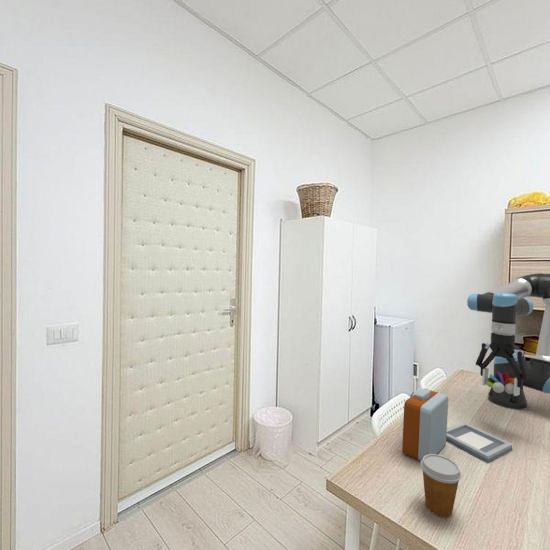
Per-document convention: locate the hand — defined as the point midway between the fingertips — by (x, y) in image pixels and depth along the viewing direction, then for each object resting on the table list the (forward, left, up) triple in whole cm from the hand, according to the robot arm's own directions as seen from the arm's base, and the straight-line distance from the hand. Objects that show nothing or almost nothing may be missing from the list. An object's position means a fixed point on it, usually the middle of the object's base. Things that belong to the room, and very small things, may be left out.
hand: (500, 389), depth 121 cm
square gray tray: (+16, 0, -17) cm, 24 cm away
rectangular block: (+36, -6, -18) cm, 41 cm away
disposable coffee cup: (+57, +13, -18) cm, 61 cm away
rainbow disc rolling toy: (0, 0, -1) cm, 1 cm away
